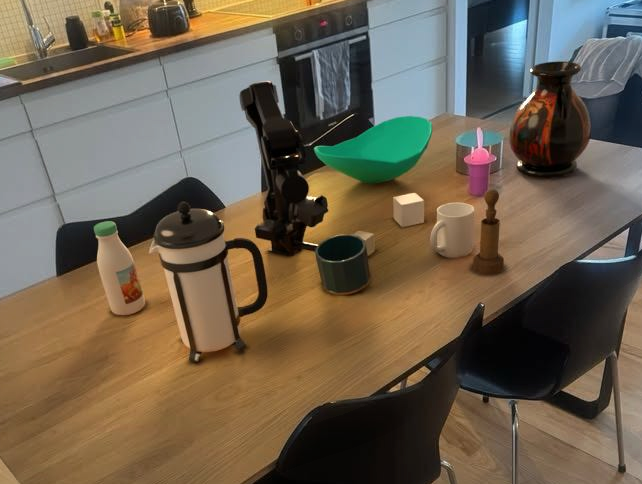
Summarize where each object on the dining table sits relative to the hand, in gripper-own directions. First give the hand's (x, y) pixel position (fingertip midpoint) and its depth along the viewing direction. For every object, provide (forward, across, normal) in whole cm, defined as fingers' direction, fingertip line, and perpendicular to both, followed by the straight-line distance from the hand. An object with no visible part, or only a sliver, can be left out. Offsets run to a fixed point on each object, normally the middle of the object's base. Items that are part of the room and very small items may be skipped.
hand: (295, 253), depth 155 cm
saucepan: (+5, +1, -7) cm, 9 cm away
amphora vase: (+6, +82, -28) cm, 87 cm away
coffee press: (+6, -31, -3) cm, 31 cm away
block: (+5, +15, -8) cm, 18 cm away
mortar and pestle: (+6, +20, -38) cm, 43 cm away
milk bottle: (+6, -30, +26) cm, 40 cm away
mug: (+6, +23, -27) cm, 36 cm away
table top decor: (+5, +59, +15) cm, 62 cm away
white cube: (+6, +36, -9) cm, 38 cm away
